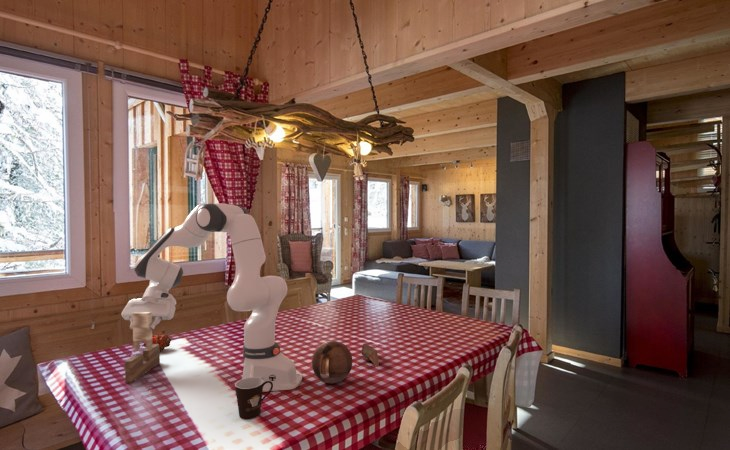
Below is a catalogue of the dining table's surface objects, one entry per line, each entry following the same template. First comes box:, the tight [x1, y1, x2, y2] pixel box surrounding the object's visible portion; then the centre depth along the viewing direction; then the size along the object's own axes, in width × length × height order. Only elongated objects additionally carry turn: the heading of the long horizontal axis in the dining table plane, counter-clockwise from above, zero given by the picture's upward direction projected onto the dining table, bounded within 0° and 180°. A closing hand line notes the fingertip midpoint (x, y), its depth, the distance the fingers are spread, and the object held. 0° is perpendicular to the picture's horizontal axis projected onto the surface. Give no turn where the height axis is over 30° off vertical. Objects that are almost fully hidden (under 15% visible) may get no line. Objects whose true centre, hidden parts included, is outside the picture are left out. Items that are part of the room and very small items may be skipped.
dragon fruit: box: [141, 332, 172, 352], centre depth 188 cm, size 8×8×12 cm
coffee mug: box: [234, 377, 273, 420], centre depth 127 cm, size 12×9×10 cm
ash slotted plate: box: [132, 312, 153, 352], centre depth 162 cm, size 6×2×15 cm, turn 89°
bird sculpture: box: [361, 343, 380, 368], centre depth 170 cm, size 7×25×5 cm, turn 15°
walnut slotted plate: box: [124, 344, 161, 383], centre depth 162 cm, size 2×20×8 cm, turn 179°
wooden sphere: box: [311, 340, 353, 384], centre depth 151 cm, size 15×15×15 cm
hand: (141, 328), depth 161 cm, fingers closed on ash slotted plate, 6 cm apart
